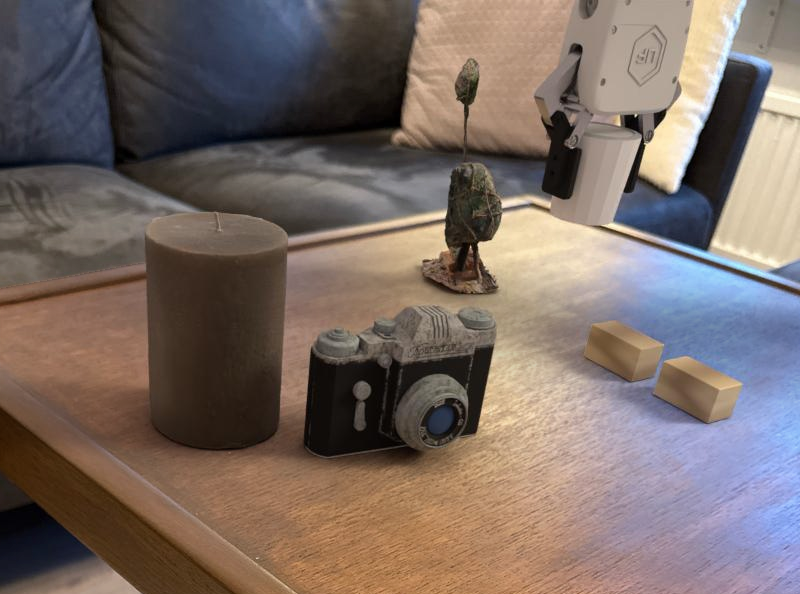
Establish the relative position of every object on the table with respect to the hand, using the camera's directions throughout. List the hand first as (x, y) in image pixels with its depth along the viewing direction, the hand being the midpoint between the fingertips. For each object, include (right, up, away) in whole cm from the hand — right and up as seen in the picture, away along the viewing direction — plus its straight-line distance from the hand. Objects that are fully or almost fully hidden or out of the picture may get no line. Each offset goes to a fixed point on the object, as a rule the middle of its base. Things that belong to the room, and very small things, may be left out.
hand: (587, 190), depth 86 cm
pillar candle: (-31, -23, -12) cm, 40 cm away
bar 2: (+8, -19, -3) cm, 21 cm away
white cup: (0, -2, +1) cm, 2 cm away
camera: (-17, -25, -12) cm, 33 cm away
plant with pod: (-9, -2, +17) cm, 19 cm away
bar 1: (+3, -15, +3) cm, 15 cm away
